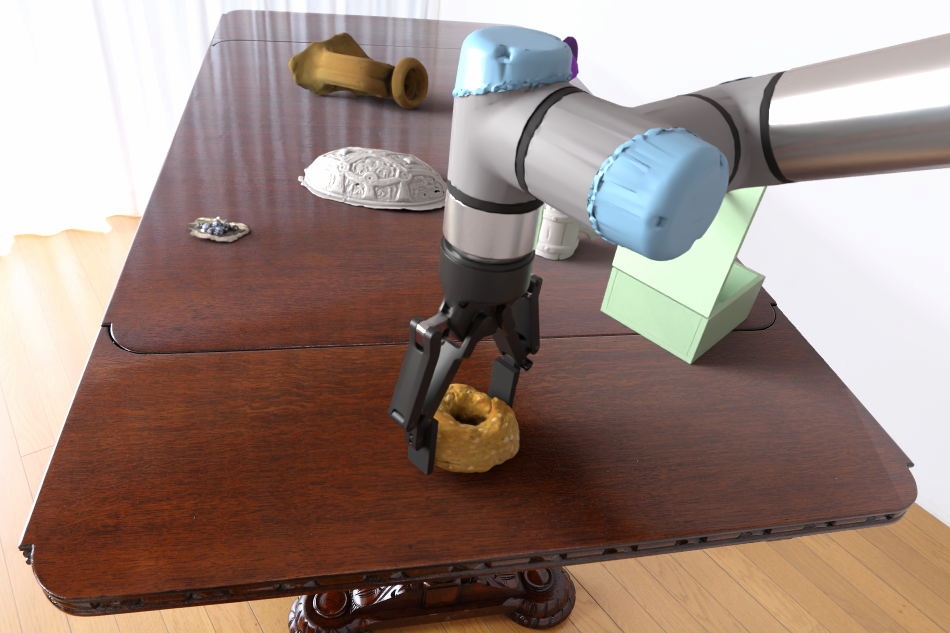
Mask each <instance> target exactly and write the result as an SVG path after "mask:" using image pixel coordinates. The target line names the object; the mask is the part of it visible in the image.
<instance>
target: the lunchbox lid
mask: <svg viewBox="0 0 950 633" xmlns="http://www.w3.org/2000/svg"><path fill="white" fill-rule="evenodd" d="M767 189H768V186H763V187H753V188H743V189H737V190H733V191H730V192H728V193H726V194H725V197H724V199H723V202H722V204H721V207H720V209H719V211H718V213H717V215H716V217H715V219H714V220H713V222H712V224H711V225H710V227H709V228H708V230H707V231H706V233H705V234H704V235H703V236H702V238H700V239H696V241H695V242H694V243H693V245H692V247H691V248H690V250H689V251H687V252H686V253H684V254H683V255H681V256H680V257H678V258H675V259H673V260H669V261H654V260H650V259H648V258H646V257H644V256H642V255H640V254H638V253H635V252H633V251H631V250H629V249H627V248H624V247H621V246H619V245H617V248H616V250H615V254H614V257H613V261H612V266H613V267H614V266H615V267H617V268H618V269H620V270H622V271H624V272H626V273H627V274H629V275H631V276H633V277H635V278H637V279H638V280H640V281H642V282H644V283H646V284H647V285H649V286H651V287H653V288H655V289H656V290H658V291H660V292H662V293H664V294H665V295H667V296H669V297H671V298H673V299H675V300H676V301H678V302H680V303H682V304H684V305H685V306H687V307H689V308H691V309H693V310H694V311H696V312H698V313H700V314H702V315H704V316H705V317H707V318H709V317H710V316H711V315H712V313H713V311H714V308H715V306H716V304H717V301H718V299H719V297H720V295H721V292H722V290H723V288H724V285H725V283H726V281H727V278H728V276H729V274H730V271H731V269H732V267H733V265H734V262H735V261H736V260H737V257H738V255H739V253H740V251H741V249H742V246H743V244H744V241H745V239H746V237H747V235H748V232H749V230H750V227H751V225H752V223H753V221H754V218H755V215H756V213H757V211H758V210H759V207H760V205H761V202H762V200H763V198H764V195H765V193H766V192H767V191H766V190H767Z"/></svg>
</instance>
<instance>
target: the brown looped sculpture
mask: <svg viewBox="0 0 950 633" xmlns="http://www.w3.org/2000/svg"><path fill="white" fill-rule="evenodd" d="M288 68H289V70H290V73H291V75H292V79H293V81H294V83H295V85H296V86H298V87H301V89H304V90H308V91H309V92H310V93H312V94H314V95H317V96H321V97H323V96H328V95H329V94H332V93H335V92H349V93H352V94H353V95H355V96H356V97H357V96H368V97H376V98H380V99H394V101H395V103H397V104H398V105H399V106H400V107H402V108H403V109H405V110H413V109H416V108H418V107H419V106H420V105H421V104H422V103H423V101H425V98H426V97H427V94H428V90H429V75H428V72H427V69H426V67H425V66H424V64H423V63H422V62H421V61H420V60H418V59H417V58H415V57H406V56H405V57H403V58H402V59H400V60H399V61H398V62H397V64H396V65H393V64H390V63H385V62H382V61H378V60H375V59H373V58H371V57H370V56H369V55H368V54H367V53H366V52H365V51H364V49H363V48H362V47H361V46H360V44H359V43H358V42H357V41H356V40H355V39H354V38H353V36H352V35H351V34H350V33H348V32H346V31H345V32H340V33H337V34H333V35H332V36H330V38H327V39H325V40H321V41H312V42H310V43H309V44H307V46H306V48H305V49H303V50H302V51H300V52H299V53H297V54H295V55H292V56H291V57H290V59H289V60H288Z"/></svg>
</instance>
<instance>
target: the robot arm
mask: <svg viewBox="0 0 950 633" xmlns="http://www.w3.org/2000/svg"><path fill="white" fill-rule="evenodd" d="M571 64H572V51H571V48H570V47H569V46H568V44H567V43H565V42H563V40H562V39H561V38H560V37H559V36H557V35H554V34H551V33H549V32H546V31H542V30H538V29H533V28H528V27H523V26H522V27H521V26H511V25H497V26H496V25H494V26H486V27H480V28H478V29H475V30H474V31H473V32H470V34H468V35H467V36H466V38H465V39H464V40H463V43H462V45H461V50H460V54H459V60H458V67H457V71H456V78H455V84H454V89H452V97H453V107H452V109H453V111H452V120H451V129H450V130H451V131H450V143H449V154H448V168H447V177H446V183H447V190H446V200H445V206H444V211H443V220H442V221H443V222H442V233H443V235H442V237H441V239H440V249H439V259H438V266H437V267H438V268H437V274H438V280H439V283H440V285H441V289H442V293H443V297H442V300H441V303H440V305H439V307H438V309H437V314H435V315H433V316H431V317H429V318H428V319H426V320H425V319H424V318H423V317H421V316H419V315H416V316H414V317H413V318H412V319H411V321H410V323H409V329H408V330H409V332H408V334H409V336H408V338H409V340H408V341H409V342H408V345H407V348H406V351H405V355H404V358H403V361H402V365H401V367H400V371H399V374H398V377H397V381H396V383H395V387H394V390H393V393H392V396H391V400H390V404H389V407H388V410H387V416H388V418H390V419H391V420H392V421H393V422H395V423H396V424H397V425H398V426H399V427H400V428H402V429H403V430H404V431H405V433H404V434H405V435H404V436H405V437H404V441H405V442H406V444H407V445H408V446H407V447H408V448H407V459H408V460H409V461H410V462H411V463H412V464H413V465H414V466H415V467H417V469H419V471H421V472H422V474H424V475H425V476H429V475H431V474H432V473H434V466H435V465H434V459H435V450H436V442H437V433H438V424H439V421H438V420H436V419H435V418H434V415H435V413H436V412H437V410H438V408H439V406H440V404H441V402H442V400H443V398H444V396H445V394H446V392H447V390H448V388H449V386H450V384H452V382H453V381H454V378H455V376H456V375H457V372H458V370H459V368H460V366H461V364H462V362H463V361H465V360H469V359H470V358H471V356H472V354H473V352H474V350H475V349H476V346H477V344H478V343H479V342H481V341H482V340H483V339H485V338H486V337H492V339H493V341H494V343H495V345H496V347H497V349H498V351H499V353H500V355H501V356H502V357H501V356H497V357H496V358H494V359H493V362H492V368H491V375H490V380H489V386H488V392H487V396H489V397H491V398H492V399H493V398H494V397H496V398H498V399H500V400H502V401H504V402H505V403H506V404H507V405H508V406H509V407H510V408H511V409H512V410H513V405H514V400H515V396H516V390H517V387H518V386H517V385H518V384H519V379H520V376H521V375H520V374H521V370H523V371H524V372H529V371H530V370H531V368H532V367H533V365H534V361H533V360H531V359H530V358H528V356H529V355H532V356H535V355H537V353H538V352H539V351H540V348H541V335H540V334H541V332H540V331H541V330H540V300H539V298H540V294H541V289H542V285H543V281H544V279H543V278H542V277H540V276H539V275H537V274H535V273H534V272H533V269H534V268H533V267H534V263H535V258H536V254H535V248H536V246H537V244H538V241H539V235H540V229H541V224H542V218H543V212H544V206H545V203H546V204H548V205H549V206H551V207H553V208H554V209H556V210H558V211H559V212H561V213H563V214H564V215H566V216H568V217H570V218H571V219H573V220H575V221H576V222H578V223H580V224H581V225H583V226H585V227H586V228H588V229H590V230H591V231H593V232H595V233H596V234H597V235H598V236H600V237H601V239H602V240H604V241H606V242H608V243H610V244H611V245H614V246H615V245H617V246H618V245H619V246H621V247H624V248H627V249H629V250H631V251H633V252H635V253H638V254H640V255H642V256H644V257H646V258H648V259H650V260H654V261H669V260H673V259H675V258H678V257H680V256H681V255H683V254H684V253H686V252H687V251H689V250H690V248H691V247H692V245H693V243H694V242H695V241H696V239H700V238H702V236H703V235H704V234H705V233H706V231H707V230H708V228H709V227H710V225H711V224H712V222H713V220H714V219H715V217H716V215H717V213H718V211H719V209H720V207H721V204H722V202H723V199H724V197H725V194H726V193H728V192H730V191H733V190H737V189H743V188H753V187H763V186H767V187H771V186H773V187H774V186H781V185H786V184H787V185H788V184H797V183H802V182H813V181H823V180H834V179H846V178H856V177H867V176H868V177H869V176H879V175H889V174H898V173H900V174H901V173H910V172H921V171H931V170H933V171H934V170H942V169H950V32H948V33H943V34H938V35H935V36H930V37H925V38H920V39H916V40H912V41H908V42H904V43H899V44H894V45H890V46H886V47H882V48H881V47H880V48H877V49H872V50H868V51H867V50H866V51H863V52H859V53H855V54H850V55H845V56H841V57H836V58H831V59H828V60H824V61H819V62H815V63H810V64H806V65H805V64H804V65H801V66H796V67H793V68H790V69H788V70H783V71H777V72H770V73H766V74H761V75H758V76H744V77H740V78H739V77H738V78H734V79H731V80H727V81H724V82H720V83H718V84H715V85H714V86H709V87H706V88H703V89H699V90H696V91H691V92H689V93H686V94H677V95H676V96H672V97H668V98H664V99H660V100H655V101H652V102H648V103H644V104H640V105H636V106H633V107H632V106H624V105H620V104H618V103H615V102H612V101H610V100H607V99H604V98H601V97H598V96H596V95H593V94H591V93H589V92H588V91H586V90H583V89H582V88H580V87H577V86H575V85H574V84H572V83H570V81H569V80H570V79H571V76H572V72H571ZM450 335H451V336H452V337H453V338H455V339H456V340H458V341H459V342H461V343H462V344H461V345H460V344H459V343H457V342H456V341H454V340H453V339H452V338H450Z"/></svg>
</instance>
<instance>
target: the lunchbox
mask: <svg viewBox="0 0 950 633" xmlns="http://www.w3.org/2000/svg"><path fill="white" fill-rule="evenodd" d="M611 268H612V269H611V272H610V276H609V279H608V283H607V286H606V289H605V293H604V296H603V299H602V303H601V307H600V312H602V313H604V314H606V315H607V316H609V317H610V318H612V319H614V320H616V321H617V322H619V323H620V324H623V325H624V326H626V327H627V328H629V329H631V330H632V331H634V332H635V333H637V334H639V335H640V336H642V337H644V338H645V339H647V340H649V341H650V342H652V343H654V344H655V345H657V346H659V347H661V348H662V349H664V350H666V351H667V352H669V353H671V354H672V355H674V356H675V357H677V358H679V359H681V360H682V361H684V362H685V363H687V364H689V365H692V364H693V363H694V362H695V361H696V360H698V359H699V358H700V357H701V356H702V355H703V354H705V353H706V352H707V351H709V350H710V349H711V348H713V346H715V345H716V344H717V343H718V342H720V341H721V340H722V339H723V338H725V337H726V336H727V335H728V334H729V333H731V332H732V331H733V330H734V329H736V328H737V327H738V326H739V325H740V324H742V323H743V322H744V321H746V320H747V319H748V317H749V315H750V313H751V310H752V309H753V306H754V304H755V302H756V300H757V298H758V295H759V292H760V290H761V289H762V286H763V284H764V282H765V279H766V275H765V274H761V273H760V272H758V271H756V270H755V269H753V268H750V267H748V266H746V265H743V264H741V263H740V262H738V261H736V260H735V262H734V265H733V267H732V269H731V271H730V274H729V276H728V278H727V281H726V283H725V285H724V288H723V290H722V292H721V295H720V297H719V299H718V301H717V304H716V306H715V308H714V311H713V313H712V315H711V316H710V317H709V318H707V317H705V316H704V315H702V314H700V313H698V312H696V311H694V310H693V309H691V308H689V307H687V306H685V305H684V304H682V303H680V302H678V301H676V300H675V299H673V298H671V297H669V296H667V295H665V294H664V293H662V292H660V291H658V290H656V289H655V288H653V287H651V286H649V285H647V284H646V283H644V282H642V281H640V280H638V279H637V278H635V277H633V276H631V275H629V274H627V273H626V272H624V271H622V270H620V269H618V268H617V267H615V266H613V267H611Z"/></svg>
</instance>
